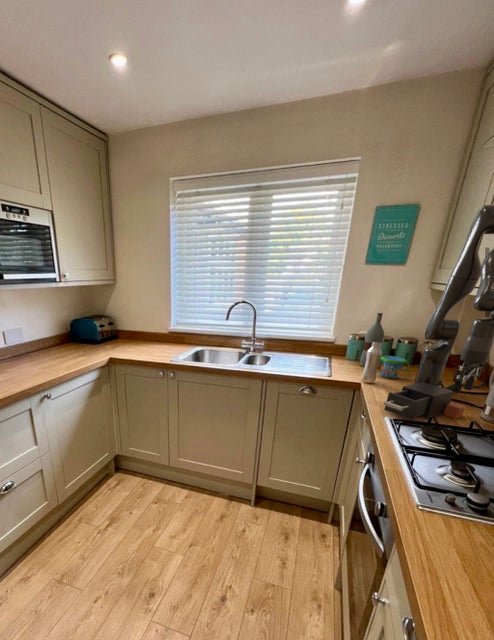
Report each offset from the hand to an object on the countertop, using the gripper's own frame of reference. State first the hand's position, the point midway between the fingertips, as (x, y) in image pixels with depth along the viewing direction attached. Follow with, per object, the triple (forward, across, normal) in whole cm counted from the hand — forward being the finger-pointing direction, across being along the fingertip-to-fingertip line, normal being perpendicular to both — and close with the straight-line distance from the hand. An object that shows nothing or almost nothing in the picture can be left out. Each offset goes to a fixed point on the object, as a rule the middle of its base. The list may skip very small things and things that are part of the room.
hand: (461, 391), depth 124 cm
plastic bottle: (+10, +7, +41) cm, 42 cm away
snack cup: (+10, +26, +42) cm, 50 cm away
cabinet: (+10, -5, +9) cm, 14 cm away
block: (+10, 0, 0) cm, 10 cm away
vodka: (+10, +36, +61) cm, 71 cm away
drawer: (+9, -18, +9) cm, 22 cm away
